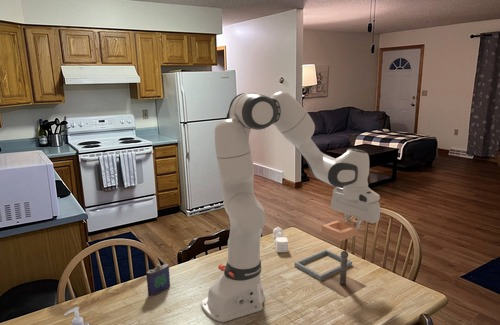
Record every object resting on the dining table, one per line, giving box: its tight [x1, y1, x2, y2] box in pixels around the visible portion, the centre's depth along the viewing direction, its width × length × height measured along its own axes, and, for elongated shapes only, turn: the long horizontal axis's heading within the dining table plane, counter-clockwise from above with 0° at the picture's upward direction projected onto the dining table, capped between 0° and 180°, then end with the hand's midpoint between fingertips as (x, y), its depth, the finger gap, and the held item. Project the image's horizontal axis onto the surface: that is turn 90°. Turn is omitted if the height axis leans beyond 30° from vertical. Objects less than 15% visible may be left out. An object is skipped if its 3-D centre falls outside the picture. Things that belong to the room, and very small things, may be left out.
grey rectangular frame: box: [294, 249, 353, 281], centre depth 150 cm, size 19×14×3 cm
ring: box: [321, 219, 358, 242], centre depth 136 cm, size 14×9×3 cm, turn 127°
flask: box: [145, 263, 171, 297], centre depth 134 cm, size 9×3×11 cm, turn 138°
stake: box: [319, 250, 367, 298], centre depth 134 cm, size 12×12×15 cm
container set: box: [272, 226, 289, 253], centre depth 173 cm, size 20×5×6 cm, turn 2°
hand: (353, 226), depth 139 cm, fingers closed on ring, 2 cm apart
